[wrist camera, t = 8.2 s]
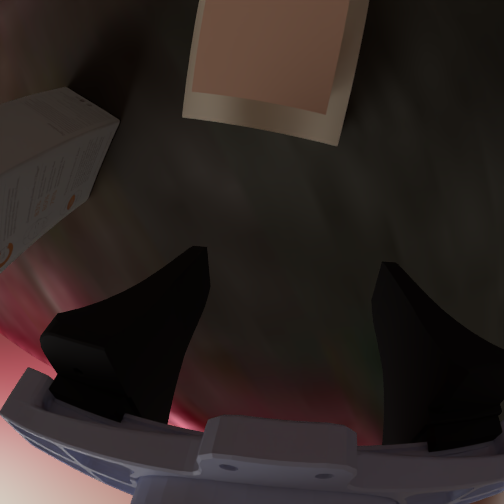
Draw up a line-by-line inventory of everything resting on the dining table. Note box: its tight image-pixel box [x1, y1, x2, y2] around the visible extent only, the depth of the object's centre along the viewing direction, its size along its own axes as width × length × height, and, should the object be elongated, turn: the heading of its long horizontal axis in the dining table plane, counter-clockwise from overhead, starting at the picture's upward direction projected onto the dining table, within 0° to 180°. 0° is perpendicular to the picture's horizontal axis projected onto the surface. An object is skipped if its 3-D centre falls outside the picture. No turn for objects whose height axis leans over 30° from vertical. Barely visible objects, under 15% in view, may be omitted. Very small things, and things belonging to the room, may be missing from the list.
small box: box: [0, 87, 120, 273], centre depth 16 cm, size 8×6×13 cm
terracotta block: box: [192, 0, 350, 115], centre depth 12 cm, size 5×5×6 cm
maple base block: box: [182, 0, 369, 146], centre depth 16 cm, size 9×9×4 cm
